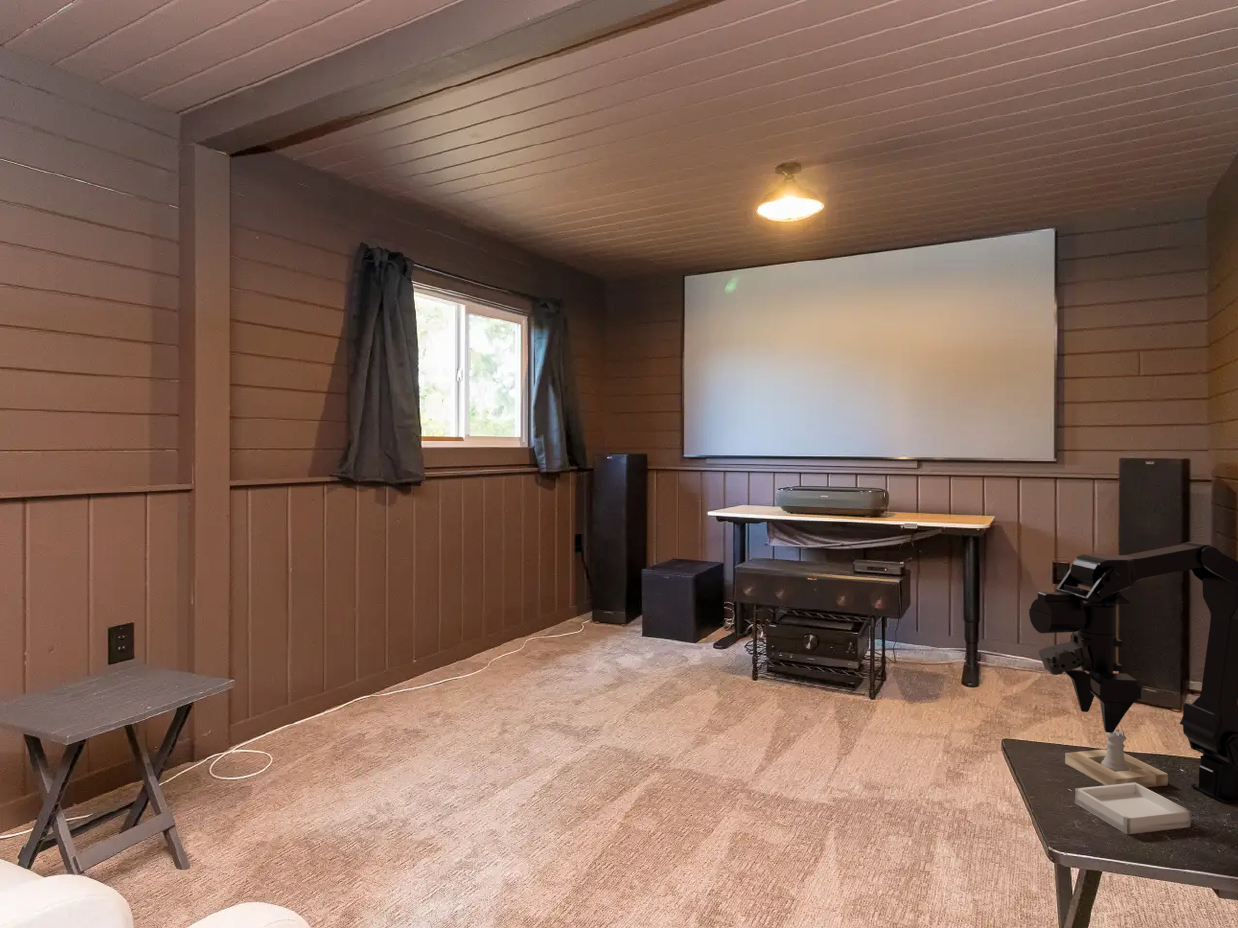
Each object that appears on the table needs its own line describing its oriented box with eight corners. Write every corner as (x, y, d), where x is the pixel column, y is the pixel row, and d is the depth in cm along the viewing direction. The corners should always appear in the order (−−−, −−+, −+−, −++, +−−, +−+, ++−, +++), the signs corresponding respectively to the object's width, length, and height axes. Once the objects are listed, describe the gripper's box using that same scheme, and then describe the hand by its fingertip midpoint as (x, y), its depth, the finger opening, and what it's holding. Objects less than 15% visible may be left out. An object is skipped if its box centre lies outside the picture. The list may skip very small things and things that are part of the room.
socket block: (1114, 758, 141) (1114, 748, 141) (1167, 784, 131) (1167, 773, 131) (1065, 763, 139) (1065, 752, 139) (1114, 790, 128) (1115, 779, 128)
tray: (1134, 796, 126) (1135, 782, 126) (1190, 826, 117) (1191, 811, 116) (1074, 802, 124) (1075, 788, 124) (1126, 834, 114) (1127, 818, 114)
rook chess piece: (1134, 780, 132) (1135, 736, 132) (1106, 778, 133) (1107, 734, 133) (1122, 769, 137) (1123, 727, 136) (1095, 767, 138) (1097, 725, 137)
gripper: (1025, 615, 135) (1025, 699, 136) (1067, 644, 117) (1066, 741, 117) (1092, 617, 133) (1092, 702, 134) (1145, 646, 115) (1144, 745, 115)
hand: (1096, 721), depth 125 cm, fingers open, 9 cm apart
